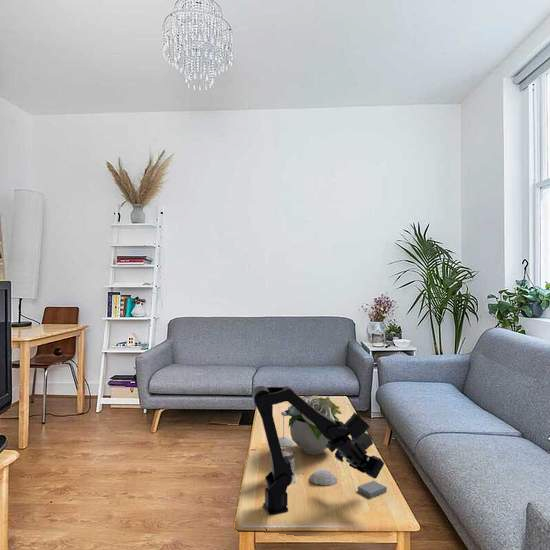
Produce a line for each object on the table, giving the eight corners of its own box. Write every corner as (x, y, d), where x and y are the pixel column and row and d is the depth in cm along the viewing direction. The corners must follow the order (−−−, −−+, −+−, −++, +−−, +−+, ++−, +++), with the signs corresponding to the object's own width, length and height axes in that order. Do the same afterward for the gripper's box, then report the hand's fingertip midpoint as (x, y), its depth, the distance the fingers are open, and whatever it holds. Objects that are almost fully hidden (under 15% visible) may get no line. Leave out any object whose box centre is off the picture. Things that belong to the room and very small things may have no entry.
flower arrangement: (309, 468, 166) (309, 406, 166) (274, 447, 186) (274, 392, 187) (355, 454, 179) (355, 397, 180) (318, 436, 200) (318, 385, 201)
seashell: (303, 473, 155) (318, 458, 163) (305, 486, 156) (320, 471, 164) (326, 481, 149) (340, 465, 156) (328, 495, 149) (342, 479, 157)
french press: (295, 473, 162) (296, 407, 162) (297, 487, 150) (297, 417, 150) (270, 473, 162) (270, 407, 162) (270, 487, 150) (270, 417, 150)
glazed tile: (370, 493, 143) (386, 487, 148) (357, 486, 148) (373, 480, 152) (370, 499, 143) (386, 492, 147) (357, 492, 148) (373, 486, 152)
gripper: (379, 435, 137) (402, 461, 143) (340, 419, 152) (362, 444, 158) (362, 465, 132) (387, 491, 138) (324, 446, 148) (347, 470, 154)
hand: (370, 472), depth 147 cm, fingers closed
